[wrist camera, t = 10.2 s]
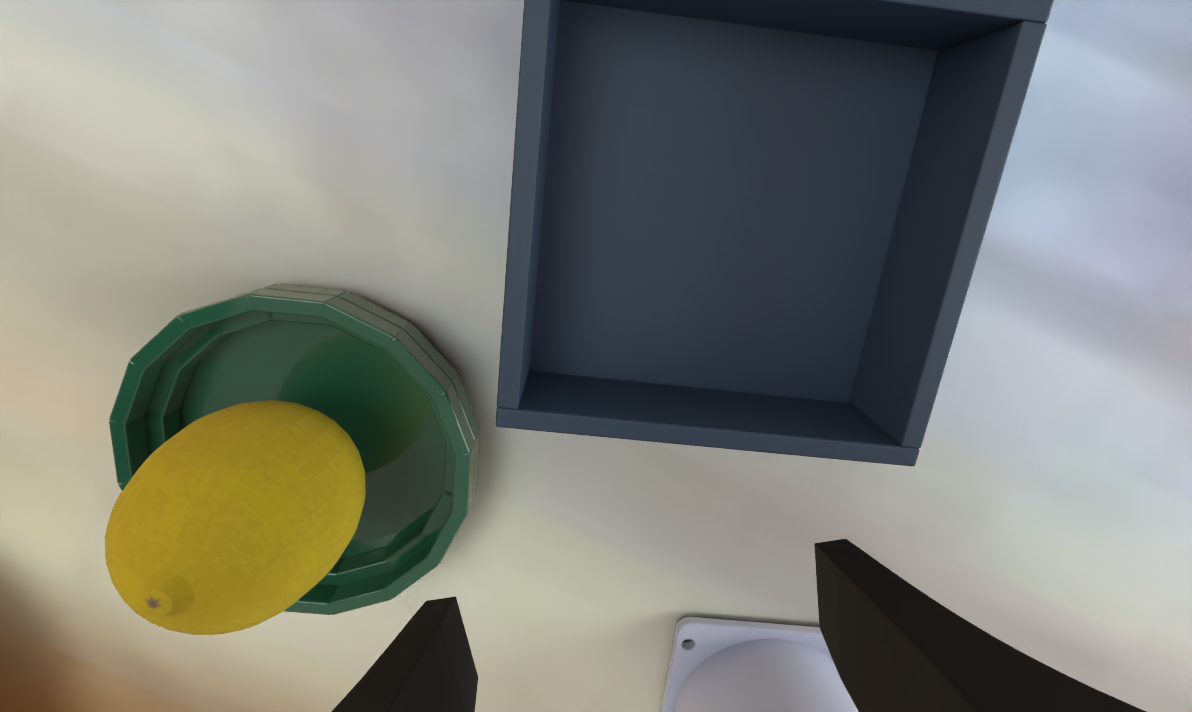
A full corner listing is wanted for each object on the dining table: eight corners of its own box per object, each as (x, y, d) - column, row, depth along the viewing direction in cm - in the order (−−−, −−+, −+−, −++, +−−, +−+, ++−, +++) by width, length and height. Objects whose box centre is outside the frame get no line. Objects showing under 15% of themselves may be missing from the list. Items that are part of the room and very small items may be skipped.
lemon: (415, 396, 20) (308, 534, 12) (376, 531, 21) (259, 731, 14) (249, 344, 19) (25, 455, 11) (221, 487, 21) (7, 670, 13)
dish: (472, 583, 22) (460, 625, 20) (176, 559, 22) (132, 600, 20) (489, 302, 19) (478, 318, 17) (144, 265, 19) (87, 277, 17)
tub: (857, 416, 21) (915, 467, 17) (511, 382, 20) (495, 427, 16) (957, 32, 17) (1057, -6, 14) (541, -23, 17) (529, -79, 13)
